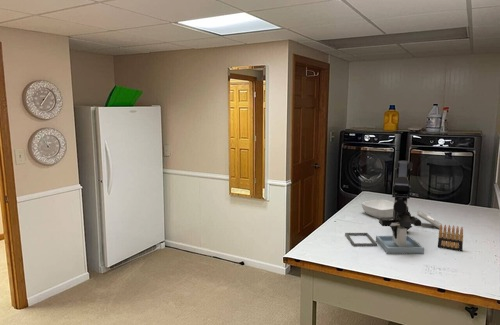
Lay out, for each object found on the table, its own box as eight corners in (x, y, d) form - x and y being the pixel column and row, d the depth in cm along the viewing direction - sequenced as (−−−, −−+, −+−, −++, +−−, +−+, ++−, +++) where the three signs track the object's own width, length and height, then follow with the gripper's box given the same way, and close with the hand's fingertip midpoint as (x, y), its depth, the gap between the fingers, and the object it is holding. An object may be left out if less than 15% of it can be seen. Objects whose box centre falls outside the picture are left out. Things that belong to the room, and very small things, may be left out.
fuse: (398, 240, 188) (399, 223, 187) (405, 247, 179) (406, 229, 178) (392, 240, 188) (393, 223, 187) (399, 247, 179) (400, 229, 178)
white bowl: (380, 221, 226) (381, 209, 225) (358, 213, 244) (358, 202, 243) (405, 217, 234) (406, 205, 233) (382, 209, 252) (382, 198, 251)
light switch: (443, 227, 209) (419, 212, 214) (437, 235, 211) (413, 220, 216) (442, 222, 217) (419, 208, 221) (436, 230, 219) (413, 216, 223)
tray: (409, 241, 192) (409, 235, 192) (423, 254, 175) (423, 247, 175) (375, 241, 192) (376, 235, 192) (387, 254, 176) (387, 247, 175)
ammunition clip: (462, 250, 179) (464, 226, 178) (462, 251, 178) (464, 227, 176) (437, 246, 185) (439, 222, 183) (437, 247, 183) (438, 223, 182)
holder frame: (367, 234, 202) (367, 232, 202) (377, 246, 186) (377, 244, 185) (345, 234, 203) (345, 232, 202) (353, 246, 186) (353, 244, 186)
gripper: (386, 212, 173) (385, 244, 176) (427, 212, 173) (425, 244, 175) (379, 206, 184) (377, 236, 187) (417, 206, 184) (415, 236, 186)
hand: (399, 238), depth 183 cm, fingers closed on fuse, 3 cm apart
